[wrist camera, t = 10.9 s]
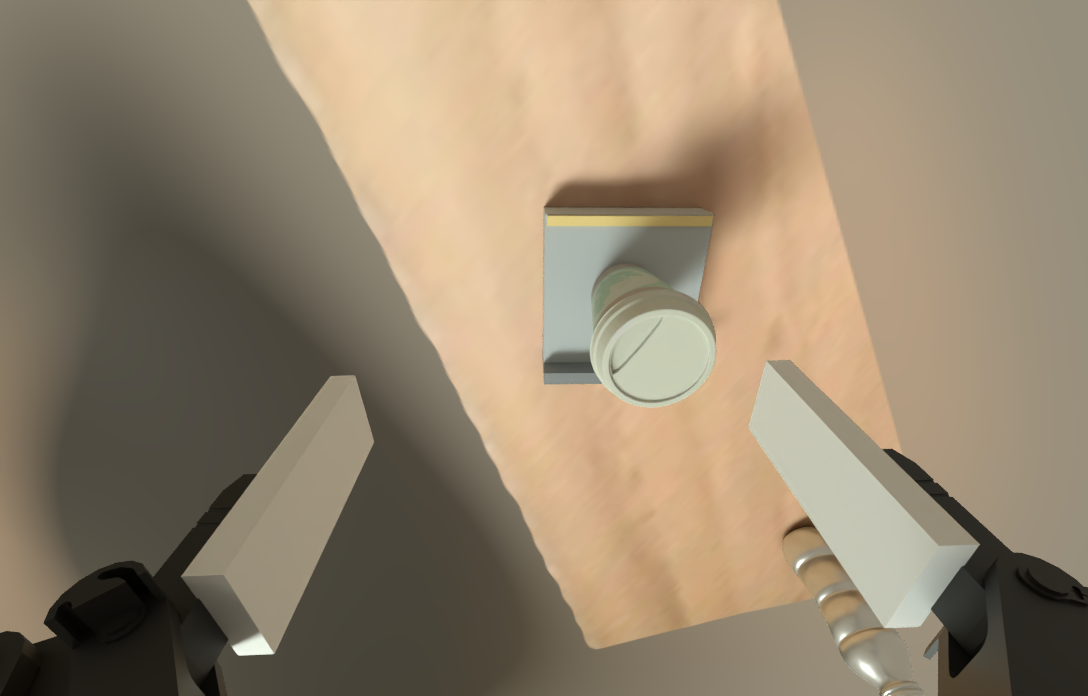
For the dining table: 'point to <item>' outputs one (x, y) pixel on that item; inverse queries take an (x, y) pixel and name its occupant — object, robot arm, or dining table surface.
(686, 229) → the plate
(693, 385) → the coffee cup
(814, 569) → the plastic bottle
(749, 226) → the dining table surface
